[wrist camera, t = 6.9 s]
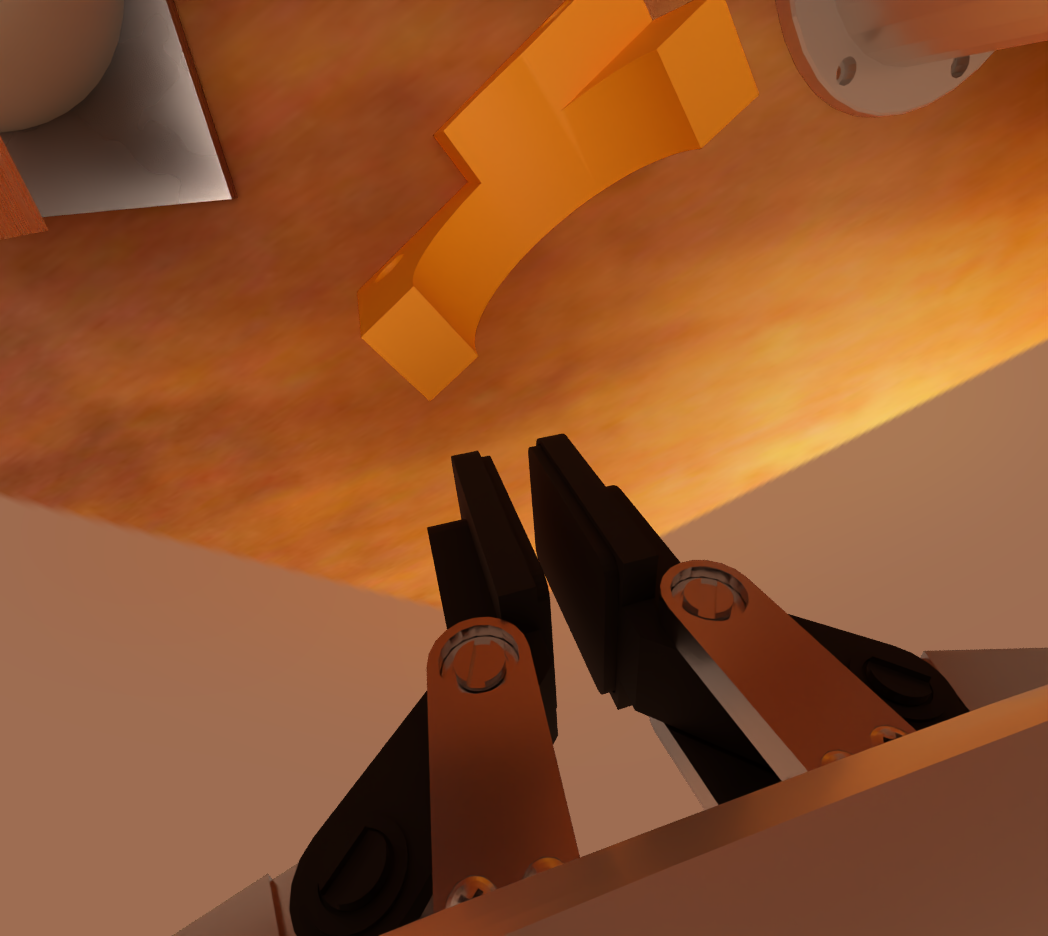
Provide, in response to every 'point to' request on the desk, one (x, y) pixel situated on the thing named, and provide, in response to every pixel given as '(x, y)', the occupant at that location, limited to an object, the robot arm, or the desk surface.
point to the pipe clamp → (549, 161)
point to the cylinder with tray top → (100, 112)
